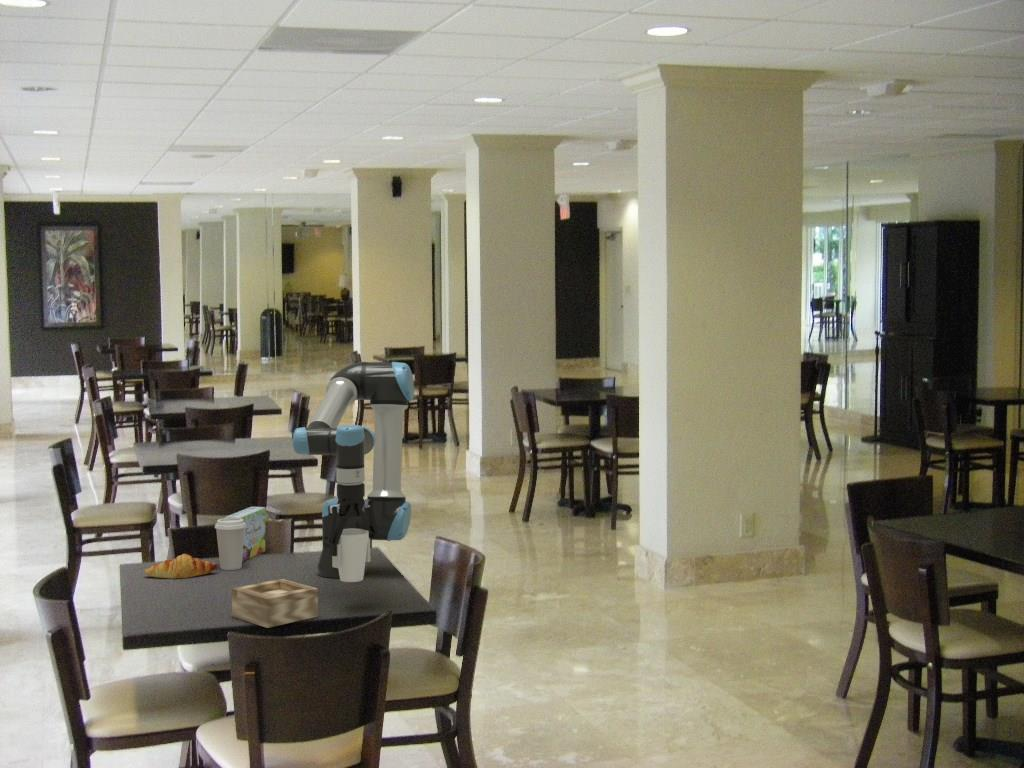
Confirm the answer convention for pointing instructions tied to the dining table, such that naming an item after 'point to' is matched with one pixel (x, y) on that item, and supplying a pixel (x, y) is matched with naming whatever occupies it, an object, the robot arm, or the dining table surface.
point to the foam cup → (353, 554)
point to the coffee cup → (230, 542)
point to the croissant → (181, 568)
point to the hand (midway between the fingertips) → (351, 564)
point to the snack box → (252, 530)
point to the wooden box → (274, 603)
